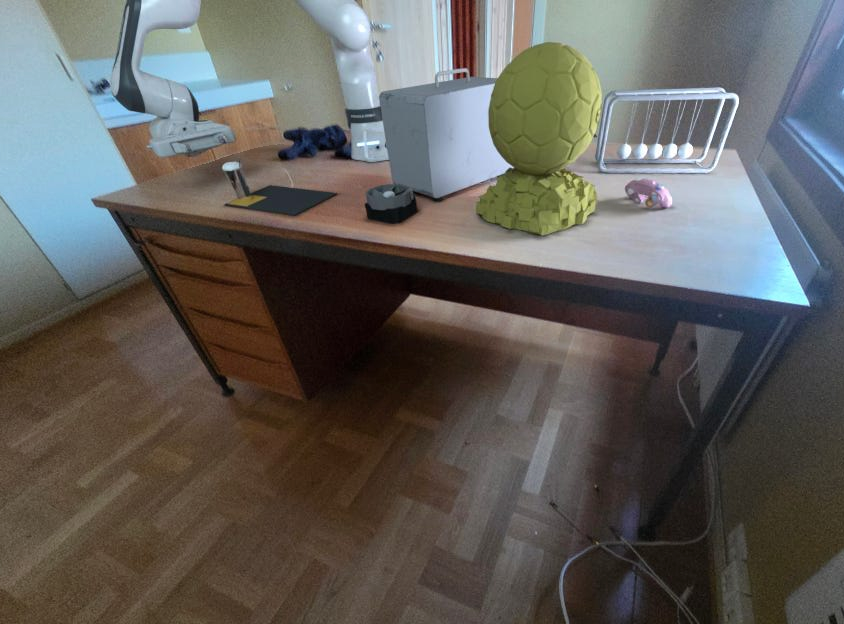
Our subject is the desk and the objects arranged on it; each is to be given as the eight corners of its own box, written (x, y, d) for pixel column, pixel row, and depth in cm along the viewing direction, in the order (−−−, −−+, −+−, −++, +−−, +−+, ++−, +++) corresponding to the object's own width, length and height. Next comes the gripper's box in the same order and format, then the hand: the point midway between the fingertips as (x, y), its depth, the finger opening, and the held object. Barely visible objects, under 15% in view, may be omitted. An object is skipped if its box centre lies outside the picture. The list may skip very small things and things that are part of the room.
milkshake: (250, 203, 100) (233, 161, 93) (232, 202, 101) (214, 161, 94) (260, 197, 103) (245, 156, 97) (243, 196, 104) (226, 156, 98)
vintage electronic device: (472, 163, 120) (468, 62, 104) (517, 173, 110) (521, 63, 94) (389, 190, 104) (370, 76, 88) (433, 205, 94) (421, 79, 78)
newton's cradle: (596, 173, 107) (609, 96, 96) (593, 162, 115) (605, 90, 103) (714, 173, 103) (743, 92, 91) (702, 162, 110) (728, 86, 98)
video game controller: (623, 207, 92) (620, 182, 86) (635, 194, 92) (634, 168, 87) (661, 219, 86) (660, 193, 80) (674, 205, 86) (675, 178, 81)
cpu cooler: (355, 194, 86) (384, 180, 92) (361, 219, 89) (388, 205, 96) (393, 200, 82) (420, 185, 88) (397, 226, 85) (423, 210, 92)
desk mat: (337, 194, 104) (336, 192, 103) (295, 216, 93) (294, 214, 93) (270, 186, 112) (269, 184, 111) (224, 205, 101) (224, 203, 101)
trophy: (607, 211, 86) (642, 36, 66) (546, 244, 75) (566, 46, 55) (528, 191, 99) (538, 38, 79) (466, 216, 88) (459, 46, 68)
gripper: (136, 133, 100) (155, 139, 93) (215, 118, 111) (238, 122, 104) (151, 160, 104) (170, 167, 97) (225, 143, 115) (248, 148, 108)
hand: (206, 144), depth 100 cm, fingers open, 8 cm apart
